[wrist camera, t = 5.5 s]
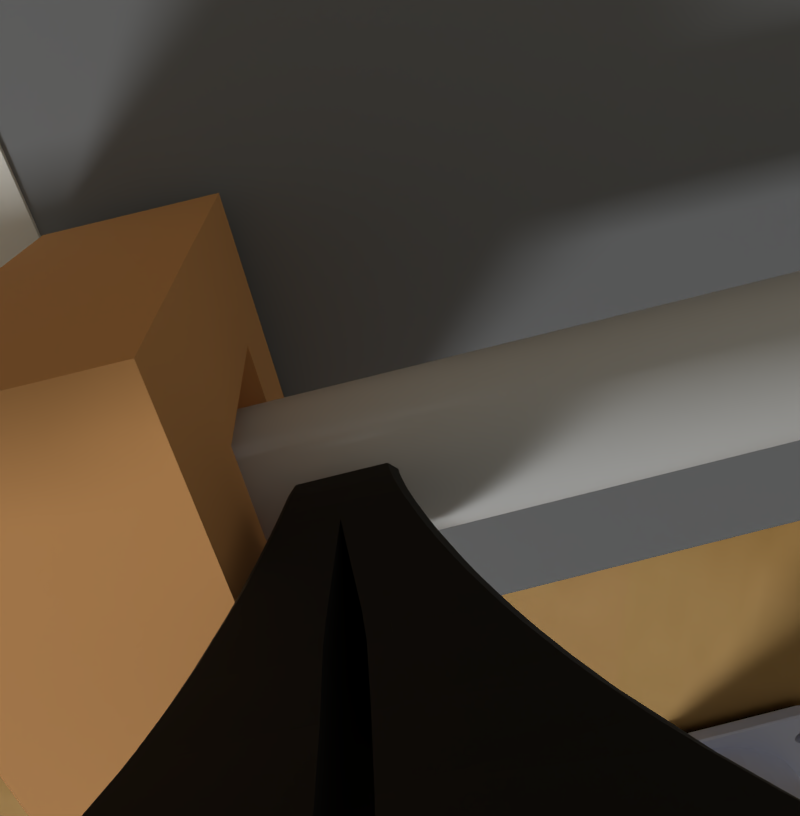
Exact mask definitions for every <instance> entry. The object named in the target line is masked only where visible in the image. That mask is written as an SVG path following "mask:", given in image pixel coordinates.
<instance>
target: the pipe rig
mask: <svg viewBox="0 0 800 816" xmlns="http://www.w3.org/2000/svg"><path fill="white" fill-rule="evenodd" d="M216 193H219V195H220V198H221V201H222V204H223V207H224V210H225V214H226V217H227V220H228V223H229V226H230V229H231V232H232V235H233V239H234V242H235V245H236V248H237V251H238V254H239V257H240V261H241V264H242V267H243V270H244V273H245V276H246V279H247V283H248V286H249V289H250V292H251V295H252V298H253V301H254V304H255V308H256V311H257V314H258V317H259V320H260V323H261V326H262V330H263V333H264V336H265V339H266V342H267V345H268V348H269V351H270V355H271V358H272V361H273V364H274V367H275V370H276V373H277V377H278V380H279V383H280V386H281V389H282V392H283V395H284V398H280V399H276V400H272V401H268V402H264V403H260V404H256V405H252V406H248V407H243V408H239V409H237V414H236V420H235V426H234V432H233V438H232V444H231V447H232V450H233V452H234V455H235V458H236V461H237V463H238V466H239V469H240V471H241V474H242V477H243V479H244V482H245V485H246V488H247V490H248V493H249V496H250V498H251V501H252V504H253V507H254V509H255V512H256V515H257V517H258V520H259V523H260V526H261V528H262V531H263V534H264V536H265V539H266V542H267V541H268V538H269V536H270V534H271V532H272V530H273V528H274V526H275V524H276V522H277V520H278V518H279V516H280V513H281V511H282V509H283V507H284V505H285V503H286V500H287V498H288V496H289V494H290V493H291V491H292V490H293V488H294V487H295V485H298V484H302V483H306V482H310V481H314V480H318V479H323V478H327V477H331V476H335V475H339V474H343V473H347V472H351V471H355V470H359V469H363V468H367V467H371V466H376V465H380V464H384V463H389V464H391V465H393V466H394V467H396V468H398V469H399V473H400V475H401V477H402V479H403V481H404V483H405V485H406V487H407V488H408V490H409V492H410V493H411V495H412V496H413V498H414V499H415V501H416V502H417V503H418V505H419V506H420V507H421V509H422V510H423V511H424V513H425V514H426V516H427V517H428V518H429V519H430V521H431V522H432V523H433V524H434V526H435V527H436V528H437V529H438V530H439V531H440V533H441V534H442V535H443V536H444V537H445V538H446V539H447V540H448V542H449V543H450V544H451V545H452V546H453V547H454V548H455V549H456V551H457V552H458V553H459V554H460V555H461V556H462V557H463V558H464V559H465V560H466V562H467V563H468V564H469V565H470V566H471V567H472V568H473V569H474V570H475V571H476V572H477V573H478V574H479V575H480V576H481V577H482V578H483V579H484V580H485V581H486V582H487V583H488V584H490V585H491V586H492V587H493V588H494V589H495V590H496V591H497V592H498V593H499V594H500V595H504V594H508V593H512V592H516V591H520V590H524V589H528V588H532V587H536V586H540V585H544V584H548V583H552V582H556V581H560V580H564V579H568V578H572V577H576V576H580V575H584V574H588V573H592V572H596V571H600V570H604V569H608V568H612V567H616V566H620V565H624V564H628V563H632V562H636V561H640V560H644V559H648V558H652V557H656V556H660V555H664V554H668V553H672V552H676V551H680V550H684V549H688V548H692V547H696V546H699V545H703V544H707V543H711V542H715V541H719V540H723V539H727V538H731V537H735V536H739V535H743V534H747V533H751V532H755V531H759V530H763V529H767V528H771V527H775V526H779V525H783V524H787V523H791V522H795V521H799V520H800V0H0V268H1V267H2V266H3V265H5V264H6V263H7V262H9V261H10V260H11V259H12V258H14V257H15V256H16V255H18V254H19V253H20V252H22V251H23V250H24V249H25V248H27V247H28V246H29V245H31V244H32V243H33V242H35V241H36V240H37V239H38V238H40V237H41V236H42V235H46V234H50V233H54V232H58V231H62V230H66V229H71V228H75V227H79V226H83V225H87V224H91V223H95V222H100V221H104V220H108V219H112V218H116V217H120V216H124V215H129V214H133V213H137V212H141V211H145V210H149V209H153V208H158V207H162V206H166V205H170V204H174V203H178V202H182V201H187V200H191V199H195V198H199V197H203V196H207V195H211V194H216Z"/></svg>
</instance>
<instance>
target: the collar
mask: <svg viewBox="0 0 800 816" xmlns="http://www.w3.org/2000/svg"><path fill="white" fill-rule="evenodd" d="M280 398H284V395H283V392H282V389H281V386H280V383H279V380H278V377H277V373H276V370H275V367H274V364H273V361H272V358H271V355H270V351H269V348H268V345H267V342H266V339H265V336H264V333H263V330H262V326H261V323H260V320H259V317H258V314H257V311H256V308H255V304H254V301H253V298H252V295H251V292H250V289H249V286H248V283H247V279H246V276H245V273H244V270H243V267H242V264H241V261H240V257H239V254H238V251H237V248H236V245H235V242H234V239H233V235H232V232H231V229H230V226H229V223H228V220H227V217H226V214H225V210H224V207H223V204H222V201H221V198H220V195H219V193H216V194H211V195H207V196H203V197H199V198H195V199H191V200H187V201H182V202H178V203H174V204H170V205H166V206H162V207H158V208H153V209H149V210H145V211H141V212H137V213H133V214H129V215H124V216H120V217H116V218H112V219H108V220H104V221H100V222H95V223H91V224H87V225H83V226H79V227H75V228H71V229H66V230H62V231H58V232H54V233H50V234H46V235H42V236H41V237H40V238H38V239H37V240H36V241H35V242H33V243H32V244H31V245H29V246H28V247H27V248H25V249H24V250H23V251H22V252H20V253H19V254H18V255H16V256H15V257H14V258H12V259H11V260H10V261H9V262H7V263H6V264H5V265H3V266H2V267H1V268H0V777H1V778H2V779H3V781H4V782H5V784H6V785H7V786H8V788H9V789H10V791H11V792H12V793H13V795H14V796H15V798H16V799H17V800H18V802H19V803H20V805H21V806H22V807H23V809H24V810H25V812H26V813H27V814H28V816H82V815H83V814H84V812H85V811H86V810H87V809H88V808H89V807H90V805H91V804H92V803H93V802H94V801H95V800H96V798H97V797H98V796H99V795H100V794H101V793H102V791H103V790H104V789H105V788H106V787H107V786H108V784H109V783H110V782H111V781H112V780H113V779H114V777H115V776H116V775H117V774H118V773H119V772H120V770H121V769H122V768H123V767H124V765H125V764H126V763H127V762H128V760H129V759H130V758H131V757H132V755H133V754H134V753H135V751H136V750H137V749H138V747H139V746H140V745H141V743H142V742H143V741H144V739H145V738H146V737H147V735H148V734H149V733H150V731H151V730H152V729H153V727H154V726H155V725H156V723H157V722H158V721H159V719H160V718H161V717H162V715H163V714H164V712H165V711H166V710H167V708H168V707H169V705H170V704H171V702H172V701H173V700H174V698H175V697H176V695H177V694H178V692H179V691H180V689H181V688H182V686H183V685H184V683H185V682H186V681H187V679H188V678H189V676H190V675H191V673H192V672H193V670H194V668H195V667H196V665H197V664H198V662H199V660H200V659H201V657H202V656H203V654H204V652H205V651H206V649H207V647H208V646H209V644H210V643H211V641H212V639H213V638H214V636H215V635H216V633H217V631H218V630H219V628H220V626H221V625H222V623H223V622H224V620H225V618H226V617H227V615H228V613H229V612H230V610H231V608H232V606H233V605H234V603H235V601H236V599H237V597H238V596H239V594H240V592H241V590H242V588H243V586H244V584H245V583H246V581H247V579H248V577H249V575H250V573H251V572H252V570H253V568H254V566H255V564H256V562H257V560H258V558H259V557H260V555H261V553H262V551H263V549H264V547H265V545H266V543H267V542H266V539H265V536H264V534H263V531H262V528H261V526H260V523H259V520H258V517H257V515H256V512H255V509H254V507H253V504H252V501H251V498H250V496H249V493H248V490H247V488H246V485H245V482H244V479H243V477H242V474H241V471H240V469H239V466H238V463H237V461H236V458H235V455H234V452H233V450H232V447H231V444H232V438H233V432H234V426H235V420H236V414H237V409H239V408H243V407H248V406H252V405H256V404H260V403H264V402H268V401H272V400H276V399H280Z"/></svg>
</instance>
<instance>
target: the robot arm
mask: <svg viewBox="0 0 800 816" xmlns="http://www.w3.org/2000/svg"><path fill="white" fill-rule="evenodd" d="M82 816H800V705H796V706H792V707H788V708H784V709H781V710H777V711H773V712H769V713H765V714H761V715H757V716H753V717H749V718H745V719H741V720H737V721H733V722H729V723H726V724H722V725H718V726H714V727H710V728H706V729H702V730H698V731H694V732H690V733H686V732H685V731H683V730H681V729H680V728H678V727H677V726H675V725H674V724H672V723H670V722H669V721H667V720H666V719H664V718H663V717H661V716H660V715H658V714H656V713H655V712H653V711H652V710H650V709H649V708H647V707H646V706H644V705H642V704H641V703H639V702H638V701H636V700H635V699H633V698H632V697H630V696H628V695H627V694H625V693H624V692H622V691H621V690H619V689H618V688H616V687H615V686H613V685H612V684H611V683H609V682H608V681H606V680H605V679H604V678H602V677H601V676H600V675H598V674H597V673H596V672H594V671H593V670H592V669H590V668H589V667H587V666H586V665H585V664H583V663H582V662H581V661H579V660H578V659H577V658H575V657H574V656H572V655H571V654H570V653H569V652H567V651H566V650H565V649H563V648H562V647H561V646H560V645H558V644H557V643H556V642H555V641H553V640H552V639H551V638H550V637H548V636H547V635H546V634H545V633H543V632H542V631H541V630H540V629H538V628H537V627H536V626H535V625H534V624H533V623H531V622H530V621H529V620H528V619H527V618H526V617H524V616H523V615H522V614H521V613H520V612H519V611H518V610H516V609H515V608H514V607H513V606H512V605H511V604H510V603H509V602H507V601H506V600H505V599H504V598H503V597H502V596H501V595H500V594H499V593H498V592H497V591H496V590H495V589H494V588H493V587H492V586H491V585H490V584H488V583H487V582H486V581H485V580H484V579H483V578H482V577H481V576H480V575H479V574H478V573H477V572H476V571H475V570H474V569H473V568H472V567H471V566H470V565H469V564H468V563H467V562H466V560H465V559H464V558H463V557H462V556H461V555H460V554H459V553H458V552H457V551H456V549H455V548H454V547H453V546H452V545H451V544H450V543H449V542H448V540H447V539H446V538H445V537H444V536H443V535H442V534H441V533H440V531H439V530H438V529H437V528H436V527H435V526H434V524H433V523H432V522H431V521H430V519H429V518H428V517H427V516H426V514H425V513H424V511H423V510H422V509H421V507H420V506H419V505H418V503H417V502H416V501H415V499H414V498H413V496H412V495H411V493H410V492H409V490H408V488H407V487H406V485H405V483H404V481H403V479H402V477H401V475H400V473H399V469H398V468H396V467H394V466H393V465H391V464H389V463H384V464H380V465H376V466H371V467H367V468H363V469H359V470H355V471H351V472H347V473H343V474H339V475H335V476H331V477H327V478H323V479H318V480H314V481H310V482H306V483H302V484H298V485H295V487H294V488H293V490H292V491H291V493H290V494H289V496H288V498H287V500H286V503H285V505H284V507H283V509H282V511H281V513H280V516H279V518H278V520H277V522H276V524H275V526H274V528H273V530H272V532H271V534H270V536H269V538H268V541H267V543H266V545H265V547H264V549H263V551H262V553H261V555H260V557H259V558H258V560H257V562H256V564H255V566H254V568H253V570H252V572H251V573H250V575H249V577H248V579H247V581H246V583H245V584H244V586H243V588H242V590H241V592H240V594H239V596H238V597H237V599H236V601H235V603H234V605H233V606H232V608H231V610H230V612H229V613H228V615H227V617H226V618H225V620H224V622H223V623H222V625H221V626H220V628H219V630H218V631H217V633H216V635H215V636H214V638H213V639H212V641H211V643H210V644H209V646H208V647H207V649H206V651H205V652H204V654H203V656H202V657H201V659H200V660H199V662H198V664H197V665H196V667H195V668H194V670H193V672H192V673H191V675H190V676H189V678H188V679H187V681H186V682H185V683H184V685H183V686H182V688H181V689H180V691H179V692H178V694H177V695H176V697H175V698H174V700H173V701H172V702H171V704H170V705H169V707H168V708H167V710H166V711H165V712H164V714H163V715H162V717H161V718H160V719H159V721H158V722H157V723H156V725H155V726H154V727H153V729H152V730H151V731H150V733H149V734H148V735H147V737H146V738H145V739H144V741H143V742H142V743H141V745H140V746H139V747H138V749H137V750H136V751H135V753H134V754H133V755H132V757H131V758H130V759H129V760H128V762H127V763H126V764H125V765H124V767H123V768H122V769H121V770H120V772H119V773H118V774H117V775H116V776H115V777H114V779H113V780H112V781H111V782H110V783H109V784H108V786H107V787H106V788H105V789H104V790H103V791H102V793H101V794H100V795H99V796H98V797H97V798H96V800H95V801H94V802H93V803H92V804H91V805H90V807H89V808H88V809H87V810H86V811H85V812H84V814H83V815H82Z"/></svg>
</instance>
